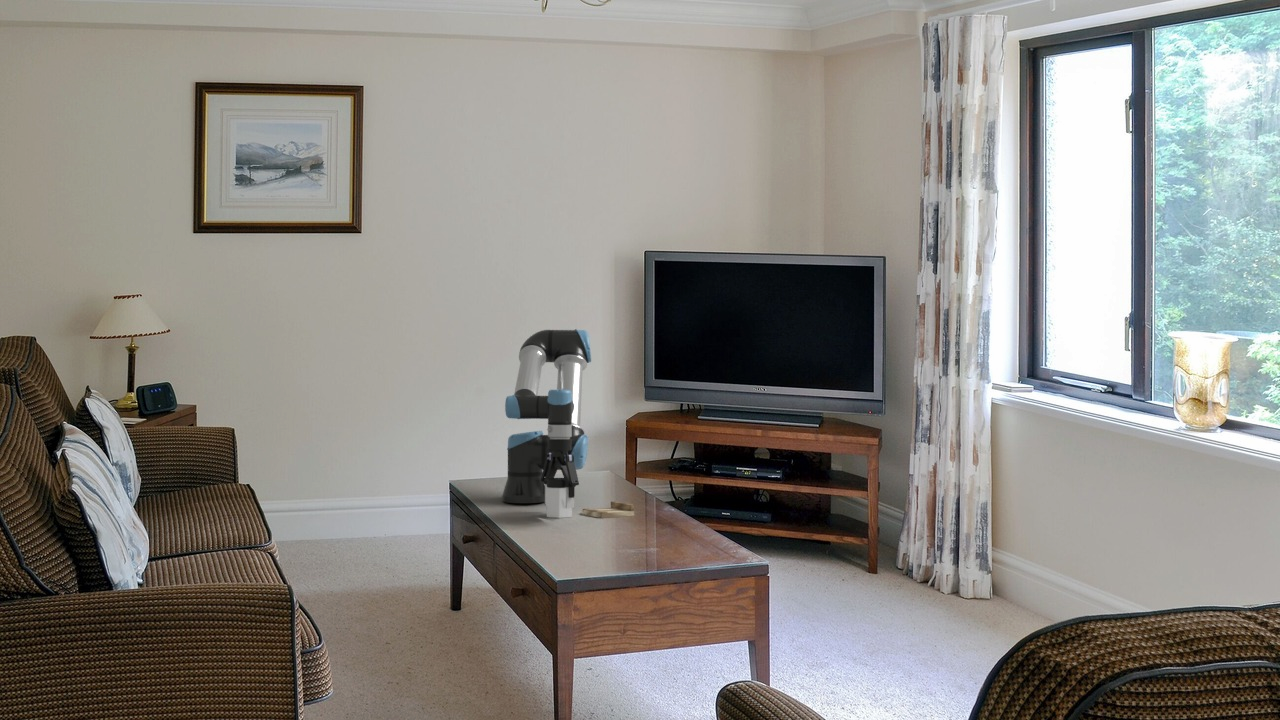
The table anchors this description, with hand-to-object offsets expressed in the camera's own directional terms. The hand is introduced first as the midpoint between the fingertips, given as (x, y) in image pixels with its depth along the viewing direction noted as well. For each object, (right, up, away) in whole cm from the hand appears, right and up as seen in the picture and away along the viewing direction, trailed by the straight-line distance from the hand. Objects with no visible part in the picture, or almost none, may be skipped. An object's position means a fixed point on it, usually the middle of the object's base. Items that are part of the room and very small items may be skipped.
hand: (559, 506), depth 344 cm
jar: (0, -3, 0) cm, 3 cm away
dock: (+15, -3, +4) cm, 16 cm away
